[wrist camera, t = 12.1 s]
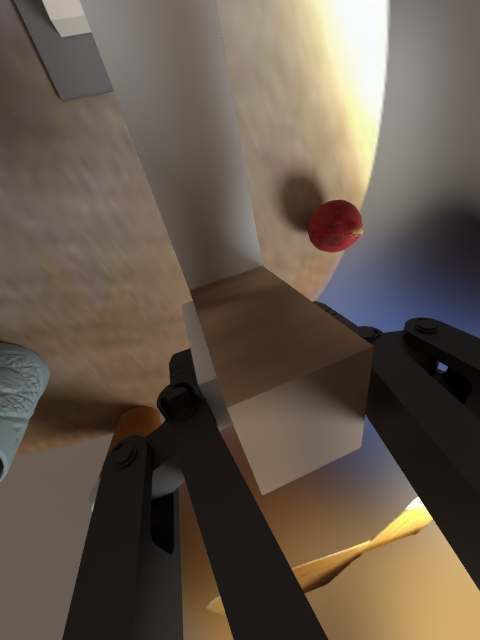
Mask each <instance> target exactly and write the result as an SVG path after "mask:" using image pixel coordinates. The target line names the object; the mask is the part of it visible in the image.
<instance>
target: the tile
mask: <svg viewBox="0 0 480 640" xmlns="http://www.w3.org/2000/svg"><path fill="white" fill-rule="evenodd" d="M42 1H43V4H44V6H45V8H46V10H47V13H48V15H49V17H50V20H51V21H52V23H53V25H54V26H55V28H56V29H57V31H58V32H59V34H60V36H61V37H66V36H72V35H78V34H84V33H90V32H91V29H90V27H89V24H88V21H87V19H86V16H85V14H84V11H83V8H82V6H81V3H80V0H42Z"/></svg>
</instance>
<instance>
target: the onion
mask: <svg viewBox="0 0 480 640" xmlns="http://www.w3.org/2000/svg"><path fill="white" fill-rule="evenodd" d="M363 233H364V230H363V229H362V219H361V215H360V213H359V211H358V210H357V208H356V207H355V206H354V205H353V204H351V203H349V202H347V201H345V200H333V201H329V202H327V203H325V204H323V205H321V206H320V207H319V208H318V209H317V210H316V211H315V212H314V213H313V215H312V217H311V219H310V221H309V226H308V234H309V238H310V241H311V242H312V244H313V245H314V246H315V247H316V248H318V249H319V250H322V251H326V252H338V251H342V250H345V249H346V248H348V247H349V246H351V245H352V244H353V243H354V242H355V241H356V240H357V239H358V237H359V236H362V235H363Z"/></svg>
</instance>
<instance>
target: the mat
mask: <svg viewBox="0 0 480 640" xmlns="http://www.w3.org/2000/svg"><path fill="white" fill-rule="evenodd" d="M14 1H15V4H16V6H17V8H18V10H19V12H20V14H21V16H22V18H23V20H24V22H25V24H26V27H27V29H28V31H29V33H30V35H31V37H32V39H33V41H34V43H35V45H36V47H37V50H38V52H39V54H40V56H41V58H42V60H43V62H44V64H45V66H46V68H47V70H48V73H49V75H50V77H51V79H52V81H53V83H54V85H55V87H56V89H57V91H58V93H59V96H60V98H61V100H62V101H66V100H71V99H76V98H81V97H86V96H91V95H96V94H101V93H106V92H111V91H114V90H113V87H112V85H111V82H110V79H109V77H108V74H107V71H106V69H105V66H104V64H103V61H102V58H101V56H100V53H99V50H98V48H97V45H96V42H95V40H94V37H93V35H92V32H90V33H84V34H78V35H72V36H66V37H61V36H60V34H59V32H58V31H57V29H56V28H55V26H54V25H53V23H52V21H51V20H50V17H49V15H48V13H47V10H46V8H45V6H44V4H43V1H42V0H14Z"/></svg>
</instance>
